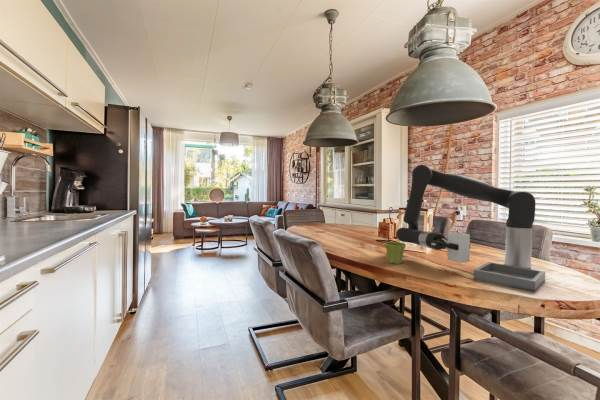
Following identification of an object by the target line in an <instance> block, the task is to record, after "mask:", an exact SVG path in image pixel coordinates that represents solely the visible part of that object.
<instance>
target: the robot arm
mask: <svg viewBox="0 0 600 400" xmlns="http://www.w3.org/2000/svg"><path fill="white" fill-rule="evenodd" d="M427 186H433V187H436V188H437V187H438V188H441V189H443V190H446V191H448V192H449V193H453V194H456V195H458V196H461V197H464V198H468V199H472V200H478V201H483V202H490V203H493V204H495V205H498V206H501V207H503V208H506V209H508V216H507V217H508V218H507V219H506V224H505V225H506V226H505V248H504V249H505V253H504V265H509V266H515V267H521V268H527V269H531V267H532V245H533V225H534V223H535V217H536V198H535V197H534V195H533V194H532V193H530V192H529V191H525V190H511V189H506V188H502V187H498V186H494V185H492V184H490V183H487V182H485V181H483V180H480V179H478V178H477V179H476V178H473V177H469V176H466V175H461V174H460V175H459V174H453V173H447V172H446V173H445V172H441V171H438V170H436V169H433V168H431V167H430V166H428V165H426V164H419V165H417V166H415V167H414V168H413V170H412V172H411V187H410V188H411V189H410V193H409V198H408V201H407V204H406V207H405V210H404V213H403V214H404V215H403V222H404V223H405V224H407V225H408V227H400V228H398V229H397V230H396V233H395V234H396V238H397V240H399V242H402V243H411V244H414V245H418V246H421V247H425V248H427V249H432V250H436V251H441V250H448V249H453V250H458V249H459V245H457V244H452V243H449V242H448V237H445V235H444V234H443V233H440V232H434V231H427V230H426V231H425V230H420V229H419V219H420V214H421V210H422V205H423V200H424V195H425V191H426V189H427Z"/></svg>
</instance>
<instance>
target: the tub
mask: <svg viewBox="0 0 600 400" xmlns="http://www.w3.org/2000/svg"><path fill="white" fill-rule="evenodd" d="M447 238H448V242H449V243H452V244H457V245H459V249H458V250H453V249H446V250H447V254H446V256H447V257H446V258H447V260H448V261H451V262H454V263H458V264H461V263H469V262H470V256H471V255H470V253H471V252H470V251H471V234H470V233H464V232H463V233H462V232H448V233H447Z"/></svg>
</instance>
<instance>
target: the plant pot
mask: <svg viewBox="0 0 600 400" xmlns="http://www.w3.org/2000/svg"><path fill="white" fill-rule="evenodd" d="M383 244H384V246H385V249H386V257H387V263H389V264H395V265H399V264H402V263H403V258H404V251H405V249H406V247H407V244H406V242H401V241H399V242H398V241H387V242H384V243H383Z"/></svg>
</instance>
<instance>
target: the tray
mask: <svg viewBox="0 0 600 400" xmlns="http://www.w3.org/2000/svg"><path fill="white" fill-rule="evenodd" d="M473 280H478V281H480V282H481V281H482V282H486V283H492V284H497V285H501V286H505V287H510V288H514V289H519V290H525V291H527V292H532V293H535V292H536V291H537V290H538V289H539V288H540V287H541V286H542V285H543V284H544V283H545V282H546V271H545V270H544V271H543V270H538V269H532V268H521V267H515V266H509V265H506V264H503V263H498V262H491V261H488V262H486V263H484V264H482V265H480V266H478V267H476V268H474V269H473Z"/></svg>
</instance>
